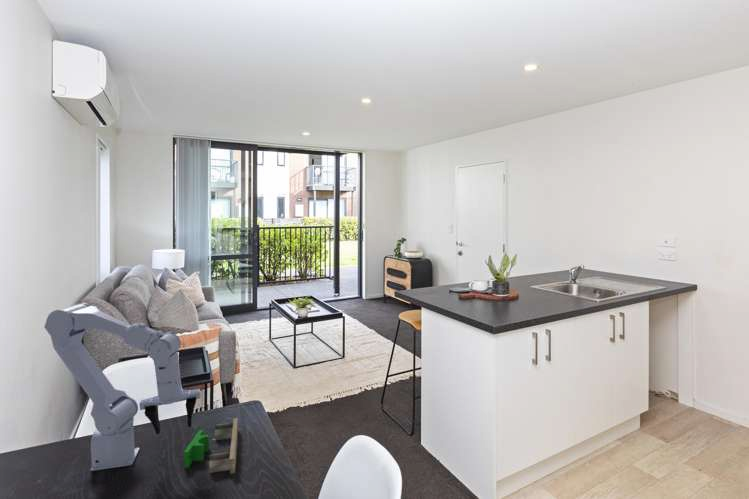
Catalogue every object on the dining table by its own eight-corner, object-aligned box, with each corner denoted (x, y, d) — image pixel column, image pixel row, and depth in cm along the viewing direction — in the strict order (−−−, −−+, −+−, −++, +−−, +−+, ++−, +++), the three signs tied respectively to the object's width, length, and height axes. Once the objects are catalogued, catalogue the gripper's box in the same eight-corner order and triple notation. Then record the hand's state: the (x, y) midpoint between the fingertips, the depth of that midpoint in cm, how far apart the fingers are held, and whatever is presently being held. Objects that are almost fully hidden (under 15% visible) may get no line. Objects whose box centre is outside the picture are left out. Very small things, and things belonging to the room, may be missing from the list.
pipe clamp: (198, 468, 107) (198, 451, 107) (184, 468, 107) (183, 452, 107) (213, 444, 119) (212, 429, 118) (200, 444, 118) (199, 429, 118)
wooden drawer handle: (208, 477, 103) (208, 461, 103) (216, 433, 124) (216, 420, 124) (234, 473, 105) (234, 457, 104) (238, 430, 126) (237, 417, 125)
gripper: (134, 391, 103) (140, 442, 104) (197, 379, 108) (202, 429, 109) (140, 381, 110) (146, 429, 111) (198, 370, 114) (203, 417, 116)
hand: (174, 428), depth 110 cm, fingers open, 7 cm apart
